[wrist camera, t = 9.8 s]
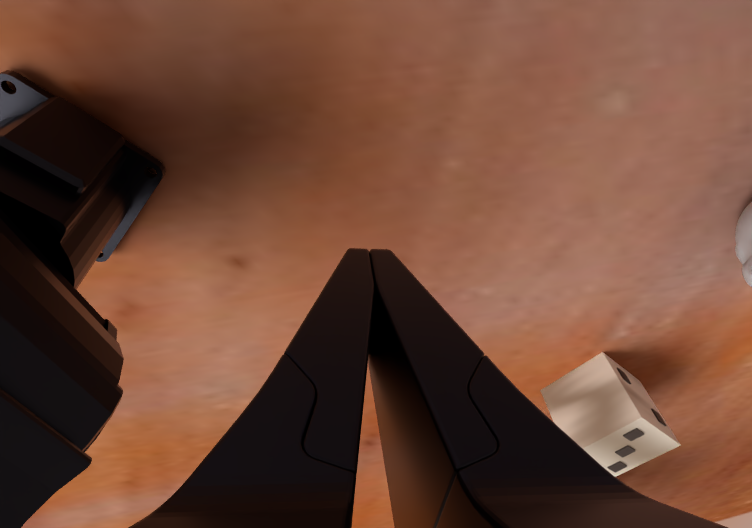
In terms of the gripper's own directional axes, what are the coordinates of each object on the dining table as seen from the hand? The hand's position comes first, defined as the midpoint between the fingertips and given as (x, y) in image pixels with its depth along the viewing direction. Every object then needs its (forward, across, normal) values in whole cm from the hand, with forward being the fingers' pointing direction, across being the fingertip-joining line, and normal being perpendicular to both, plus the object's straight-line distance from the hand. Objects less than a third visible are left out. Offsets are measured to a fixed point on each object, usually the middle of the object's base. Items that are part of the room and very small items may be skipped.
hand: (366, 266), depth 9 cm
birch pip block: (+12, -18, +20) cm, 29 cm away
